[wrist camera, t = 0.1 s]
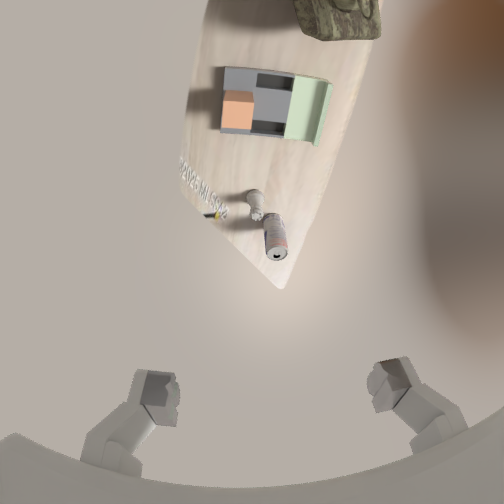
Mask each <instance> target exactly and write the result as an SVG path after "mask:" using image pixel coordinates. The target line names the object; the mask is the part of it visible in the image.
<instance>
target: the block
mask: <svg viewBox="0 0 504 504" xmlns="http://www.w3.org/2000/svg"><path fill="white" fill-rule="evenodd" d="M253 109H254V98H253V92H250V91H237V90H226V92H225V96H224V101H223V115H222V128H238V129H251V125H252V117H253Z"/></svg>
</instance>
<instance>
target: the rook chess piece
mask: <svg viewBox="0 0 504 504" xmlns="http://www.w3.org/2000/svg"><path fill="white" fill-rule="evenodd" d="M246 198H247V202H248V204H249V205H250V206H251V209H250V211H251V212H250V217H251V218H252V220H253V219H254V221H257V220H258V221H260V219H262V217H263V216H264V212H263V211H262V208H261V206H262V204H263V202H264V194H263V193H262V192H261V191H259V190H252V191H250V192H249V193H248V194H247V196H246Z"/></svg>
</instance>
